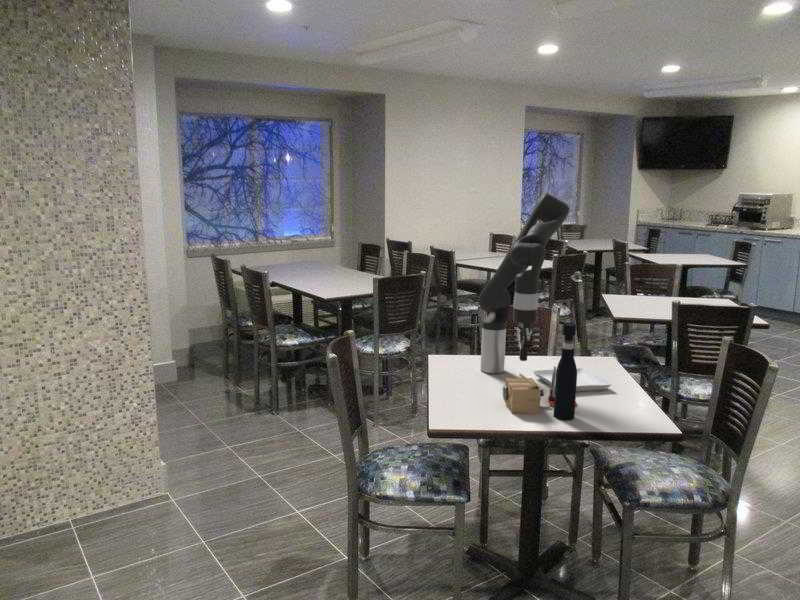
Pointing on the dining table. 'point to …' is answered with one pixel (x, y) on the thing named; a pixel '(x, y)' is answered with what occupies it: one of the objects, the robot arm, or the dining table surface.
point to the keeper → (527, 379)
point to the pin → (505, 392)
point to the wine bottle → (566, 377)
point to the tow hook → (552, 390)
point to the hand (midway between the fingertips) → (523, 360)
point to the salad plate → (578, 380)
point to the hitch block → (522, 396)
